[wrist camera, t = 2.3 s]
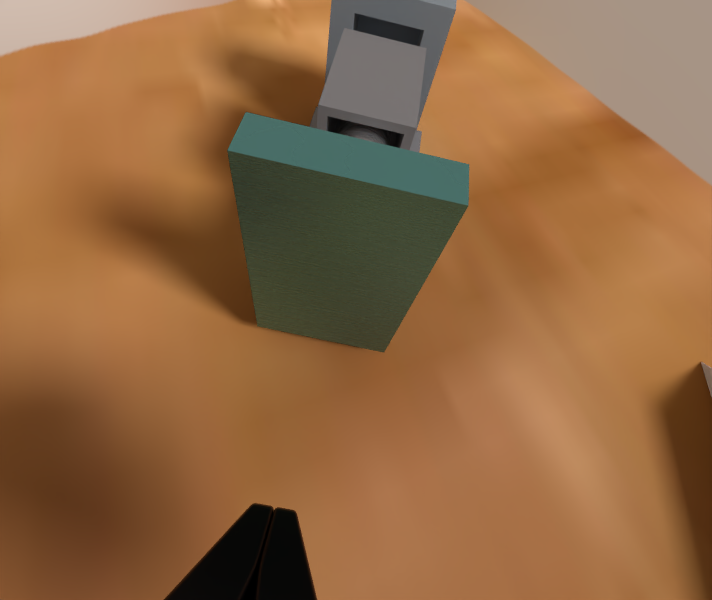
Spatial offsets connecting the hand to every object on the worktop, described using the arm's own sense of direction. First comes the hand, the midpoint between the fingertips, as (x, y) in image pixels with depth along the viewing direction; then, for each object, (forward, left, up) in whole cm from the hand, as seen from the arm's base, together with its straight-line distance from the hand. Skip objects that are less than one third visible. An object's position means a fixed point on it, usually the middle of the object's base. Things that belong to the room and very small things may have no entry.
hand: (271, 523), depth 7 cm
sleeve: (+14, +10, -9) cm, 19 cm away
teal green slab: (+12, +8, -8) cm, 16 cm away
